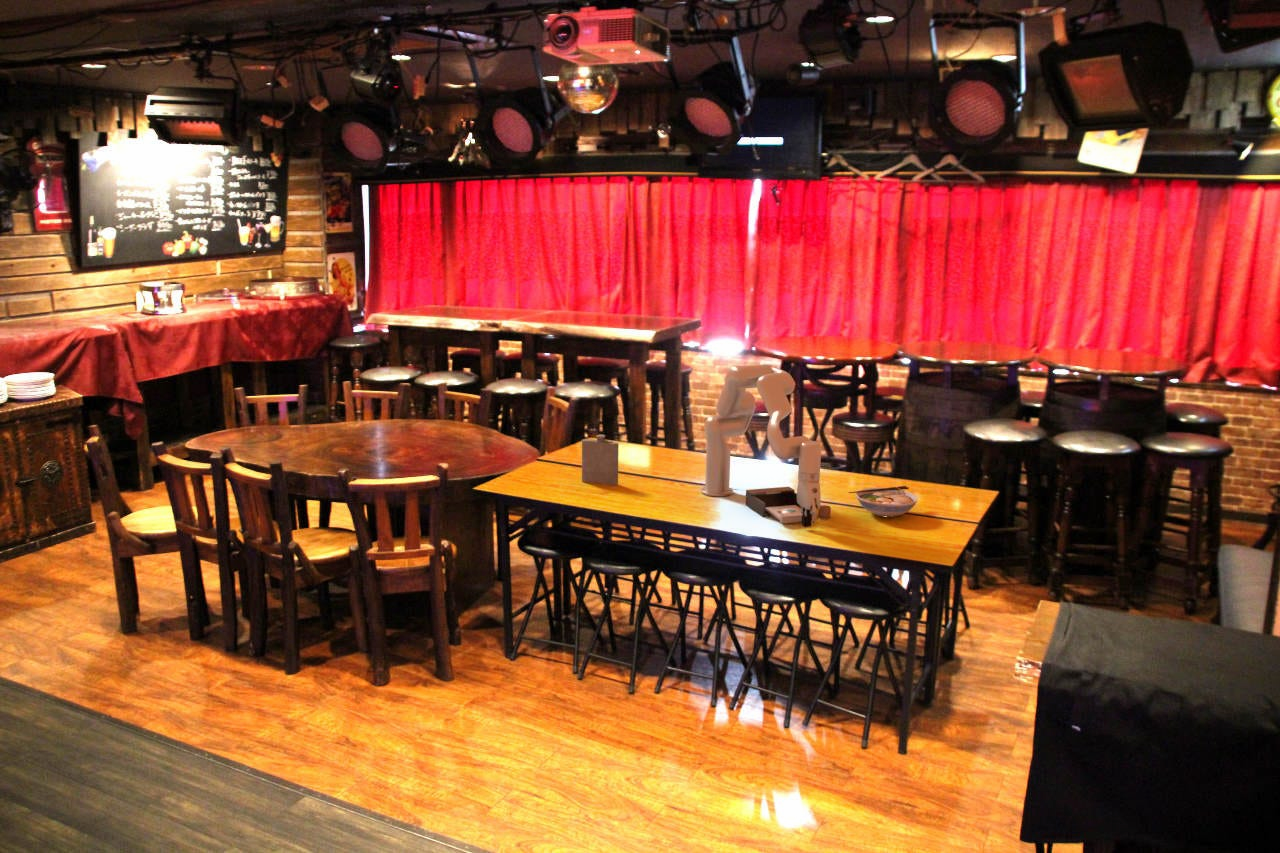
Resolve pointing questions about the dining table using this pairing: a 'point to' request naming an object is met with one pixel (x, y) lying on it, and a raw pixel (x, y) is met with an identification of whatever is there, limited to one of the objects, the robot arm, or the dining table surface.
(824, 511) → the brown cube
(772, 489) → the tray
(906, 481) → the dining table surface
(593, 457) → the hip flask
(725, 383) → the robot arm
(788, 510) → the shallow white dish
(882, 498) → the ramen bowl
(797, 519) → the tray
